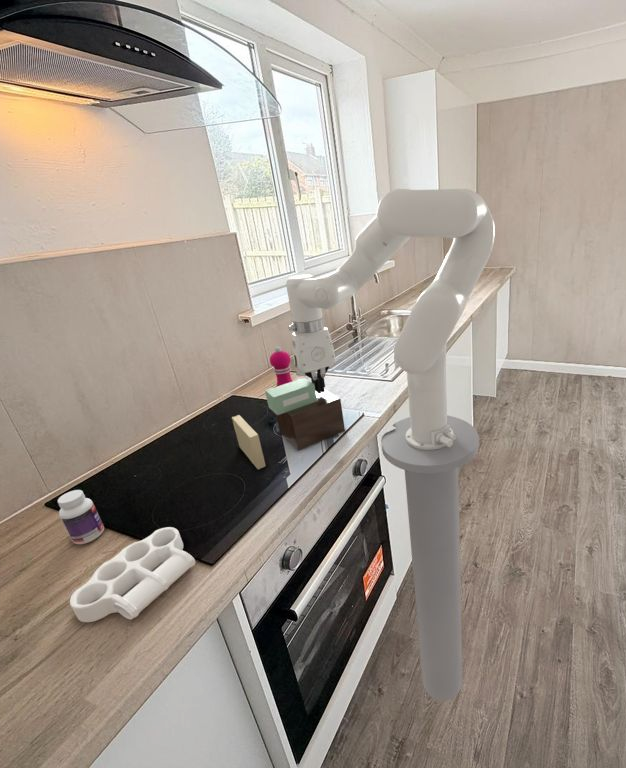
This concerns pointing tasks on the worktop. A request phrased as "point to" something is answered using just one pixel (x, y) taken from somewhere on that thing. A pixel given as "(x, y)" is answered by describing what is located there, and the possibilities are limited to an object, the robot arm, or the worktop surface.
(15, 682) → the worktop surface
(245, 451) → the rail
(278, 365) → the pepper mill
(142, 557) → the knuckle duster
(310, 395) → the tissue box
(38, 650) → the worktop surface
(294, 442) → the block
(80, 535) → the pill bottle
